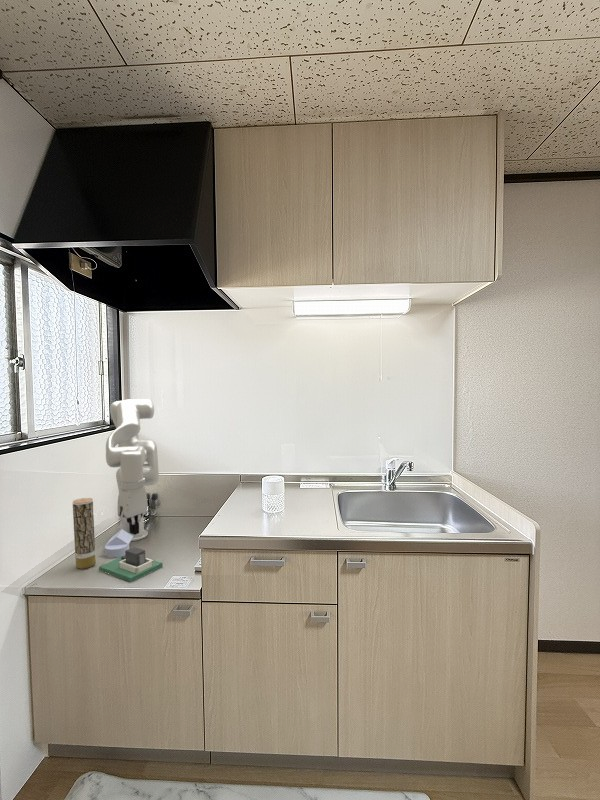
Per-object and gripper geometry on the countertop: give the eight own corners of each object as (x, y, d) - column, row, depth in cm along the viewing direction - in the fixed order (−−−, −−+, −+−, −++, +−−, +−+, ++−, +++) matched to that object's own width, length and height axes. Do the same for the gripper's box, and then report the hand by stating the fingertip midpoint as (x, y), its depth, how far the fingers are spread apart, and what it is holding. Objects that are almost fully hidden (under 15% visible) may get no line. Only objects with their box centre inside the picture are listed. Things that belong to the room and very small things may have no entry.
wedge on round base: (111, 545, 190) (102, 558, 177) (110, 529, 190) (101, 541, 177) (133, 544, 191) (126, 556, 179) (133, 528, 191) (125, 540, 178)
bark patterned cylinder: (85, 570, 167) (82, 504, 165) (71, 567, 169) (68, 502, 167) (99, 563, 173) (96, 498, 171) (86, 560, 176) (82, 497, 174)
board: (99, 570, 167) (98, 561, 167) (131, 556, 179) (130, 547, 179) (131, 582, 157) (130, 572, 157) (162, 566, 169) (162, 557, 169)
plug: (126, 566, 166) (125, 550, 166) (135, 562, 170) (134, 546, 169) (138, 570, 163) (137, 554, 162) (147, 566, 166) (146, 550, 166)
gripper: (142, 478, 173) (144, 524, 175) (107, 488, 160) (110, 538, 162) (156, 481, 169) (157, 528, 171) (121, 491, 156) (123, 542, 158)
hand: (134, 533), depth 166 cm, fingers closed
